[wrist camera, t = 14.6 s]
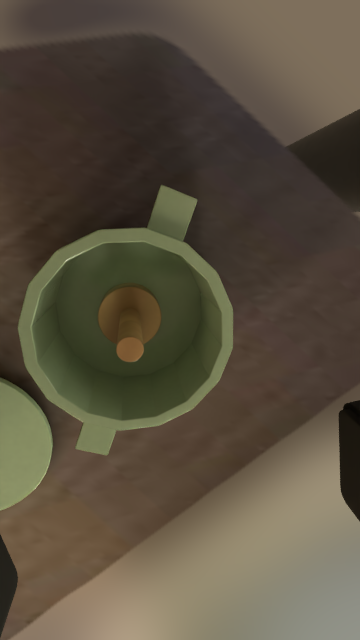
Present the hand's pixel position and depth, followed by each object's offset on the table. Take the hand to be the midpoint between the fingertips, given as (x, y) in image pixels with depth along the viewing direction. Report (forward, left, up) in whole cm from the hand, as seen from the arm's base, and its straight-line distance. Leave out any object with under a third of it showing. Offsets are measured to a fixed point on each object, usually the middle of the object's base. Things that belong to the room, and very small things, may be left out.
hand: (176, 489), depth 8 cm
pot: (+1, +1, -21) cm, 21 cm away
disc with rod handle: (+1, +1, -20) cm, 20 cm away
